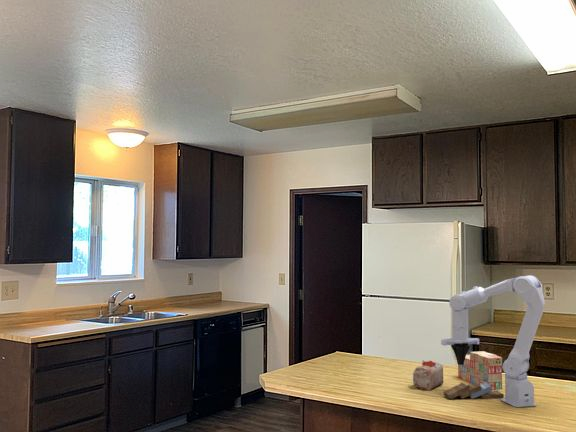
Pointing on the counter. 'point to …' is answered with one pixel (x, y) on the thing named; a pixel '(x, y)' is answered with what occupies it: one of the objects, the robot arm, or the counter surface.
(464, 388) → the domino
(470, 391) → the domino
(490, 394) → the domino
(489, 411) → the counter surface
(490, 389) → the placed domino
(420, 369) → the food item
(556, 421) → the counter surface
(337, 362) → the counter surface
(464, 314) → the robot arm
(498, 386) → the stack of blocks
